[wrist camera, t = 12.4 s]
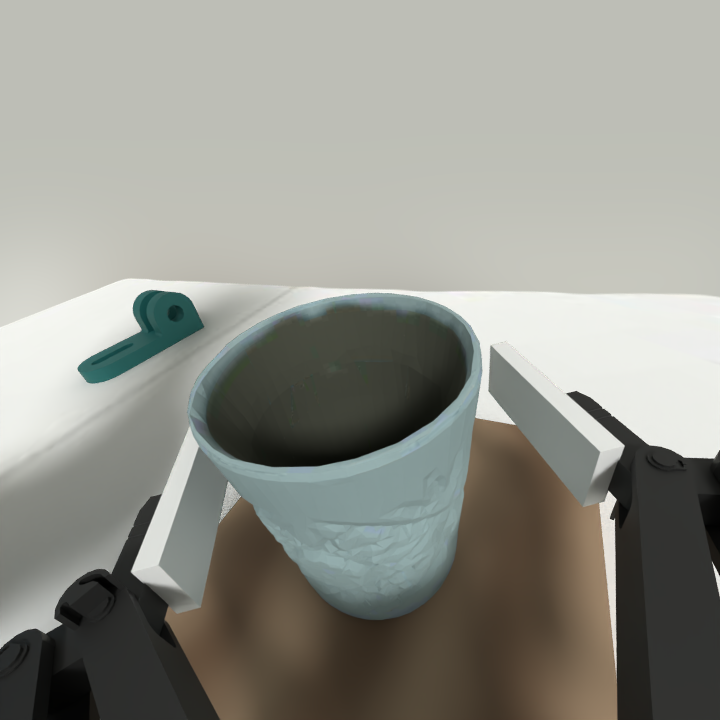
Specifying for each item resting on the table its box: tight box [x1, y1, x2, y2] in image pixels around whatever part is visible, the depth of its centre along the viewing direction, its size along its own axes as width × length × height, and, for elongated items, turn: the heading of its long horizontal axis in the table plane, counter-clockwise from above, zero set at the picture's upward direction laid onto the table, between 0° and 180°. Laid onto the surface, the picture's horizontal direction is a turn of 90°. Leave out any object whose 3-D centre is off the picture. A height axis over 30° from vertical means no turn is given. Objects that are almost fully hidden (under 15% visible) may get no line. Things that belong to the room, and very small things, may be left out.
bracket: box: [78, 290, 204, 383], centre depth 53 cm, size 18×7×8 cm, turn 148°
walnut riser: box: [165, 418, 617, 720], centre depth 19 cm, size 20×20×4 cm
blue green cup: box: [187, 293, 482, 620], centre depth 15 cm, size 10×10×12 cm
